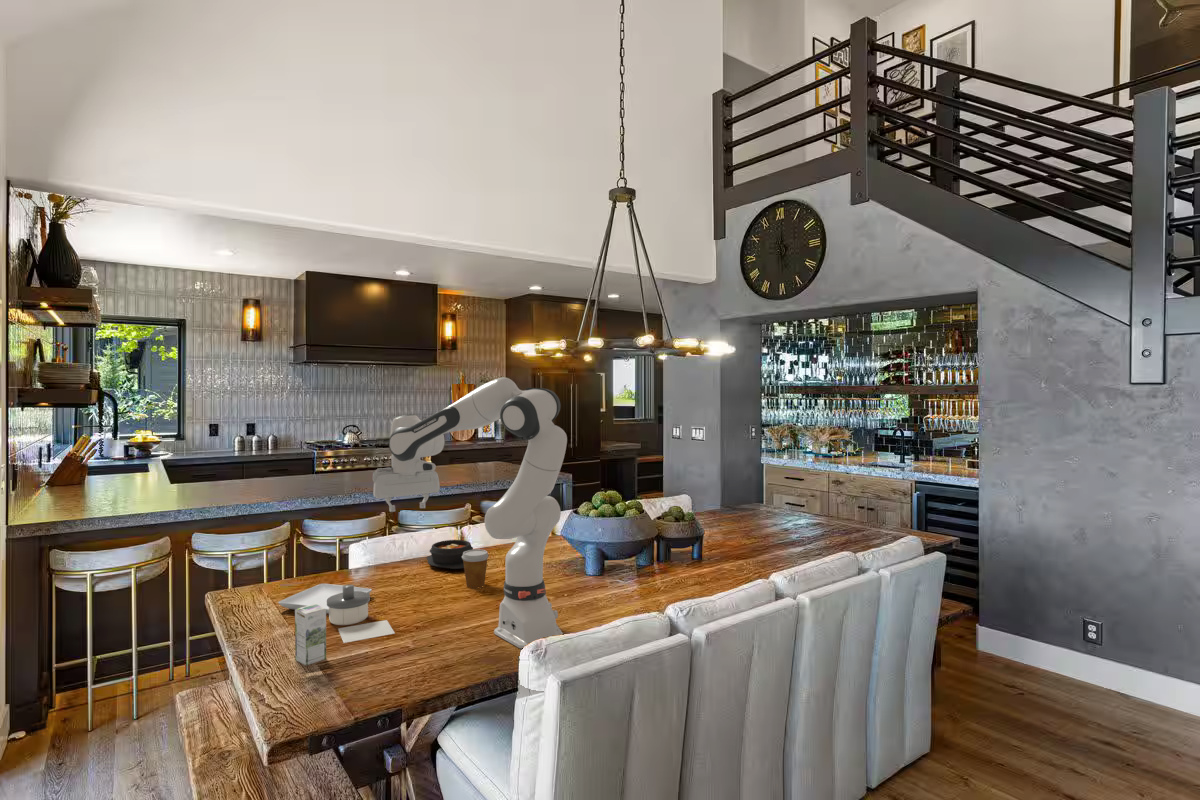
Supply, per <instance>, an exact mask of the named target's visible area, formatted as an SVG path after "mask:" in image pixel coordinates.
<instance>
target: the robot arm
mask: <svg viewBox="0 0 1200 800" xmlns="http://www.w3.org/2000/svg"><path fill="white" fill-rule="evenodd" d="M560 411H561V401H560V398H559V396H558V395H557V394H556V393H555V392H554V391H553V390H551V389H548V388H542V387H527V388H525V389H524V390H522V389H520V388H519V387H518V385H517V384H516V383H515V381H514V380H513V379H510V378H509V377H504V376H503V377H497V378H495V379H492V380H490V381H488V382H486V383H483V384H481V385H479V386H478V387H476V388H475V389H473V390H471V391H470V392H469V393H467V394H465V395H463V396H462V397H461V398H459V399H458V400H455V402H453V403H451V404H450V405H448V406H446V407H445V408H443V409H441V410H439V411H437V412H435V413H433V414H431V415H429V416H428V417H425V418H424V419H422V420H421V418H420V417H418V416H417V415H416V414H406V415H400V416H396V417H394V418H393V419H392V422H391V427H390V436H389V438H388V439H389V440H388V448H389V450H390V453H391V457H390V458H391V459H390V460H391V467H390V466H389V467H384V468H382V467H380V468H377V469H375V470H374V471H373V472H372V475H371V476H372V478H371V479H372V482H373V491H372V493H373V494H372V495H373V496H374V498H375V499H378V500H379V499H385V503H386V504H388V506H389V507H388V509H389V512H390V513H393V512H396V505H395V504H393V505H392V503H391V501H392V498H399V497H408V496H416V495H418V496H419V495H422V497H423V499H422V501H420V502H419V509H426V503H427V501H428V499H429V497H430V496H429V495H430V494H437V493H438V492H439V491H440V489H441V486H440V484H441V483H440V479H439V473H437V471H436V467H437V466H436V464H435V463H433V462H430V461H426V460H421V458H426V457H432V456H436V455H438V454H439V455H440V453H442V451H443V450H444V448H445V445H446V437H445V434H448V433H453V432H458V431H459V432H460V431H467V430H470V431H471V430H477V429H480V428H483V427H486V426H489V425H491V424H493V423H494V422H496V421H498V420H499V419H500V421H501V424H502V425H503V427H504V428H505V430H507V431H508V432H509V433H511V434H512V435H515V436H517V438H519V440H521V441H528V443H527V447H526V451H525V453H524V455H523V459H522V462H521V463H520V466H519V469H518V472H517V474H516V476H515V479H514V481H513V483H512V484H511V485H510V486H509V488H508V489H507V490H506V492H505V493H504V494H503V495H502V497H500V498H499V500H497V501H496V503H494V504H493V505H492V506H490V507H489V508H488V509H487V510H486V512H485V515H484V526H485V529H486V532H487V533H488V535H489V536H490V537H491V538H493V539H496V540H512V539H516V540H515V542H514V543H513V546H511V548H510V549H509V550H508V551H507V553H506V555H505V563H504V564H505V565H504V566H505V567H504V568H505V573H504V574H505V580H504V583H503V594H504V596H503V599H502V600H501V602H500V604H499V613H498V626H497V627H496V628H494V630H493V634H495V635H496V636H497V637H499V638H501V639H503V640H504V641H506V642H508V643H509V644H511V645H514V646H515V647H516V648H518V649H522V648H523V647H524V646H525V645H527V644H528V643H530V642H532V641H534V640H536V639H540V638H543V637H547V636H552V635H559V634H564V633H563V632H562V630H561V628H560V627H559V626H558V624H557V620H556V619H558V618H559V614H558V610H553V608H552V607H553V606H552V605H553V604H552V602H550V601H549V600H548V597H547V591H546V584H545V580H544V577H543V576H544V573H543V572H544V554H545V549H546V546H547V542H548V540H549V537H550V535H551V533H552V531H553V529H554V528H555V527H556V526H557V524H559V521H560V520H561V514H562V513H561V506H560V504H559V502H558V500H557V499H555V497H553V496H550V494H551V493H552V491H553V490H554V488H555V485H556V482H557V479H558V476H559V474H560V472H561V468H562V466H563V463H564V459H565V456H566V455H565V454H566V450H567V444H568V436H567V433H566V432H565V430H564V429H563V428H561V427H560V426H559V425H555V423H554V422H553V421H554V420H555V419H556V418H557V417H558V416H559V413H560Z"/></svg>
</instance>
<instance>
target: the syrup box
mask: <svg viewBox="0 0 1200 800" xmlns="http://www.w3.org/2000/svg"><path fill="white" fill-rule="evenodd" d="M294 633H295V634H294V636H295V637H294V638H295V641H294V643H295V644H294V647H295V650H294V651H295V653H294V655H295V656H294V658H295V661H296V662H298V663H300V664H302V665H304V666H309V665H311V664H315V663H318V662H320V661H323V660H326V659H327V614H326V609H325V608H324V607H322V606H321V605H318V604H312V605H309V606H305V607H302V608H298V609H295V610H294Z"/></svg>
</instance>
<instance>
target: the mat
mask: <svg viewBox="0 0 1200 800" xmlns="http://www.w3.org/2000/svg"><path fill="white" fill-rule="evenodd" d="M337 630H338V633H339V636H340V638H341V640H342V642H343V644H346V643H351V642H357V641H362V640H368V639H373V638H378V637H383V636H390V635H394V634H396V633H395V631H394V629H393V628H392V626H391V624H390V622H389V621H388V620H387V619H386V620H379V621H373V622H367V623H362V624H356V625H351V626H350V625H349V626H345V627H339V628H337Z"/></svg>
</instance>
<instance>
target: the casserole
mask: <svg viewBox="0 0 1200 800" xmlns="http://www.w3.org/2000/svg"><path fill="white" fill-rule="evenodd" d="M468 550H474V548H473V546H472V544H471V542H470V541H468V540H464V539H463V540H462V539H447V540H441V541H437V542H435V543H433V544H432V545H431V548H430V549H429V553H430V555H428V556H427V557H426V560H427V564H429V565H430V566H432V567H436V568H440V569H445V568H447V570H448V569H449V568H450V570H458V569H459V570H460V569H464V563H463V559H462V556H463V552H465V551H468Z"/></svg>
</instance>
